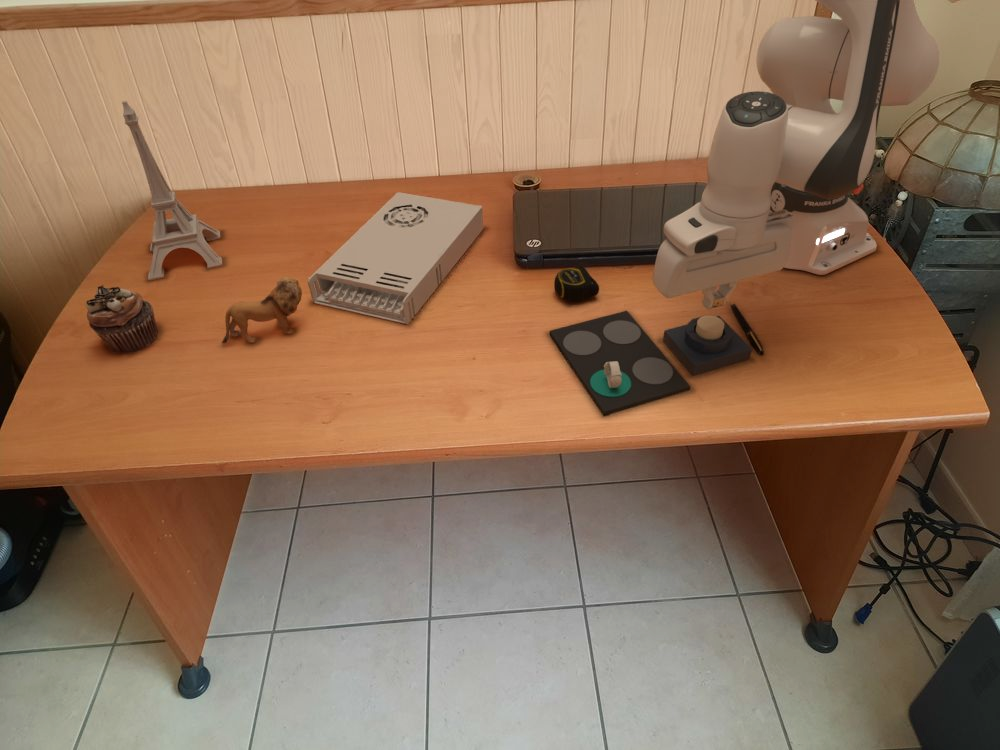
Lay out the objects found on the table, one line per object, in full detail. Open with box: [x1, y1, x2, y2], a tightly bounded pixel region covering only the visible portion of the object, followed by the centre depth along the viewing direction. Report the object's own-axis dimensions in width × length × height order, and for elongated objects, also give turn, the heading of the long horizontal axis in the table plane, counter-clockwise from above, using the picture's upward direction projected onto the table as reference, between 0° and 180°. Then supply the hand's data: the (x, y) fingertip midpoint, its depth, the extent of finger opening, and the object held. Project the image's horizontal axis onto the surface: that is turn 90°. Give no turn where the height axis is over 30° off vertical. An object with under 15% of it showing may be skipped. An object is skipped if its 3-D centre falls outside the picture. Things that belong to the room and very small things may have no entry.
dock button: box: [696, 314, 724, 340], centre depth 106 cm, size 4×4×2 cm
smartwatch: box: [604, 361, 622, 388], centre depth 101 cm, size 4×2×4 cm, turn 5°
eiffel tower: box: [121, 100, 223, 282], centre depth 126 cm, size 13×13×30 cm
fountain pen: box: [729, 299, 765, 356], centre depth 112 cm, size 14×1×2 cm, turn 6°
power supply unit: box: [307, 191, 485, 325], centre depth 129 cm, size 19×33×5 cm, turn 158°
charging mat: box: [549, 310, 691, 416], centre depth 108 cm, size 14×20×1 cm
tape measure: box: [553, 264, 600, 302], centre depth 120 cm, size 7×7×4 cm
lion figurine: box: [221, 276, 303, 344], centre depth 114 cm, size 15×5×9 cm, turn 117°
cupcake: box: [85, 284, 159, 354], centre depth 114 cm, size 10×10×10 cm
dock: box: [662, 315, 753, 377], centre depth 108 cm, size 10×9×4 cm
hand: (713, 305), depth 103 cm, fingers closed
